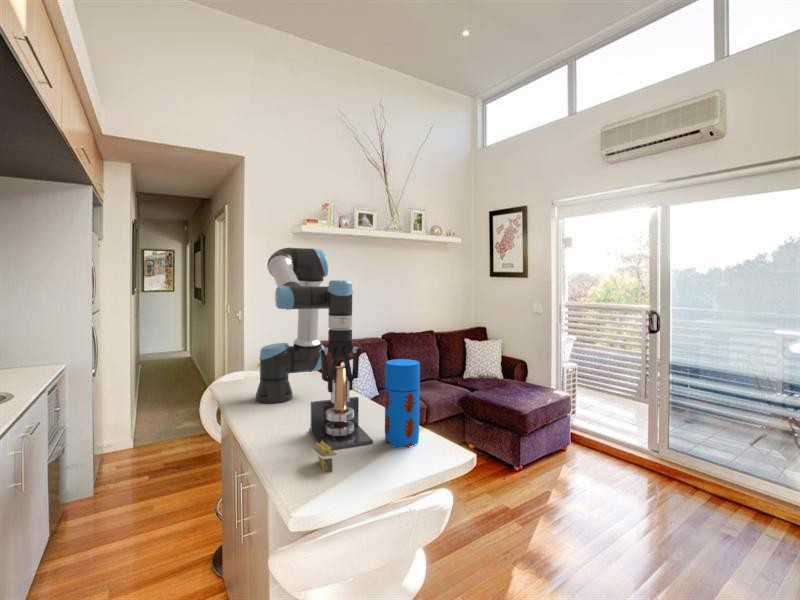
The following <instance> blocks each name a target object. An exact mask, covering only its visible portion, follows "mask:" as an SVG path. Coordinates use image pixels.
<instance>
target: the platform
mask: <svg viewBox="0 0 800 600" xmlns="http://www.w3.org/2000/svg"><path fill="white" fill-rule="evenodd" d="M311 451H312V452H313V453H314V454H315V455H317V456H318V459H319V460H318V462H320V465H321V469H322V471H323V472H326V471H330V472H331V471H332V472H333V459H335V458H338V454H337V452H335V451H334V450H331V447H329V446H328V445H327V444H325V443H324V442H323V441H321V443H317V442H316V441H315V444H314V445H313V446H312V447H311Z"/></svg>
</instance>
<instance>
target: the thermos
mask: <svg viewBox="0 0 800 600" xmlns="http://www.w3.org/2000/svg"><path fill="white" fill-rule="evenodd" d="M420 365H421V364H420V362H419V360H415V359H414V360H413V359H408V358H407V359H406V358H401V359H399V358H397V359H390V360H386V362H385V368H384V369H385V371H384V372H385V373H384V375H385V376H384V378H385V379H384V382H385V383H384V385H385V386H384V440H385V444H386V443H387V444H386V445H388V444H389V445H391V446H390V447H392V446H395V447H394V448H397V447H408V448H410V447H409V446H412V445H415V444H417V443H418V444H419V440H420V439H419V438H420V394H421V393H420V390H421V389H420V387H421V386H420V383H421V382H420V380H421V379H420V377H421V367H420ZM418 444H417V445H418ZM389 445H388V446H389ZM415 446H416V445H415Z"/></svg>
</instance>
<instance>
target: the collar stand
mask: <svg viewBox="0 0 800 600" xmlns="http://www.w3.org/2000/svg"><path fill="white" fill-rule="evenodd" d="M359 400H360V399H359V397H358V396H353V397H350V396H349V402H347V401H346V413H341V414H336V413H334V403H332V402H331V399H326V400H325V399H324V400H315V401H310V427H309V428H308V431H309V433H310V435H311V436H312V438H313V440H314V441H315V443H316V442H317V443H321V441H323V442H324V443H325V444H327V445H328V446H329V447H331V450H332V451H334V450H338V449H345V448H346V447H347V448H351V447H357V446H358V445H359V446H363V445H364V444H365V445H371V444H373V443H374V439H372V438H371V436H370V435H368V433H367V432H366V431H365V430H363V428H362V427H361V426H360V425H359V411H360V410H359V402H360V401H359ZM334 421H335V422H342V421H346V427H342V428H335V427H334ZM370 443H371V444H370Z"/></svg>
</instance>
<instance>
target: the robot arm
mask: <svg viewBox="0 0 800 600" xmlns="http://www.w3.org/2000/svg"><path fill="white" fill-rule="evenodd" d="M266 265H267V271H268V273H269V275H271V277H273V279H274V281H275V284H276V286H277V287H276V288H275V292H274V294H275V295H274V297H275V298H274V302H275V306H276V308H277V309H279V310H287V311H288V310H298V313H297V315H298V316H297V338H296V339H295V340H294V341H293V345H289V343H288V342H278V343H273V344H269V345H264V346H263V347H261V349H260V350H259V351H260V352H259V384H258V386H257V389H256V393H255V401H256V402H257V401H258V402H257V403H260V402H262V403H261V404H279V402H280V403H285V402H288V401H290V400H292V399H293V398H294V397H293V396H294V395H293V393H294V392H293V389H292V386H291V384H290V381H289V374H296V373H312V372H317V371H320V370H321V379H322V380H323V381H324V382H327V391H328V393H330V400H331V402H332V403H335V382H334V373H335V368H336V367H337V362H338V359H341V358H342V360H343V363H344V366H345V367H347V372H346V401H347V402H349V398H350V391H352V390H353V381H354V380H355V379H358V378H359V366H360V365H359V363H360V354H361V351H362V348H360V347H359V346H354V343H353V329H351V328H353V294H354V290H353V282H351V281H350V280H338V279H337V280H334V279H333V280H330V281H329V282H328V286H327V285H326V286H320V285H321V284H322V283H323V282H324V278H326V277H327V276H328V274H329V262H328V257H327V254H326V252H325V251H324V250H323V249H320V248H306V247H305V248H304V247H302V248H300V247H284V248H281V249H280V248H279V250H276V251H274V252H273V253H272V254H271V255H270V256H269V259H268V260H267V264H266ZM319 309H321V310H322V309H325V310H326V309H328V325H327V326H328V328H329V329H328V332H327V333H328V337H327V338H328V339H327V341H328V342H327V345H326V347H325V346H324V345H323V344H321V340H320V339H319V337H318V334H319V333H318V330H319V311H320V310H319ZM328 352H329V354H330V355H331V357H330V364H329V369H328V362H327V361H328V360H327V355H328ZM351 352H352V368H351V363H350V353H351Z"/></svg>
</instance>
